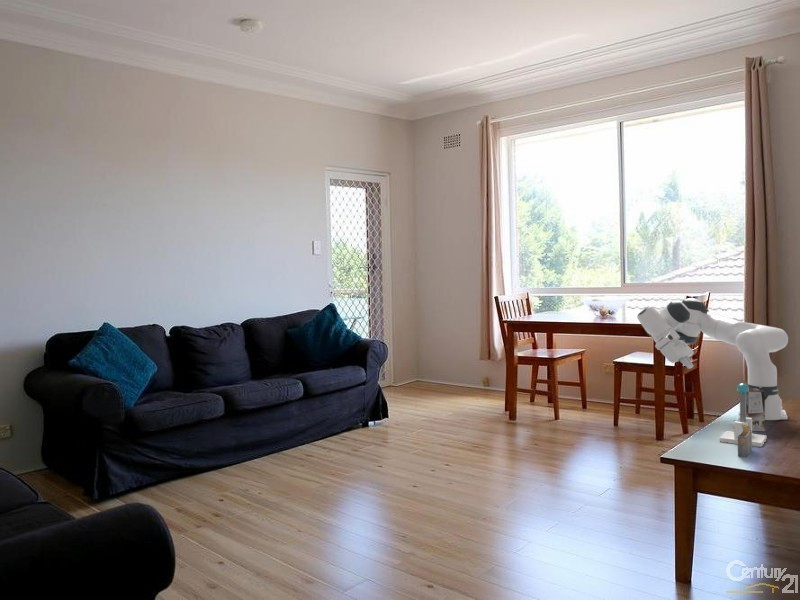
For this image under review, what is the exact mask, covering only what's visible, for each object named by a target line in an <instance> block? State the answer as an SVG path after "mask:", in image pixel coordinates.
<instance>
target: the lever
mask: <svg viewBox="0 0 800 600" xmlns="http://www.w3.org/2000/svg"><path fill="white" fill-rule="evenodd" d="M736 391H737V392H738V393H739V412H740V415H739V417H740V422H746V393H747V392H748V391H749V387H748V386H747V384H746V383H742V382H741V383H739V384H738V385H737V387H736ZM748 427H749V425H748Z"/></svg>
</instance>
